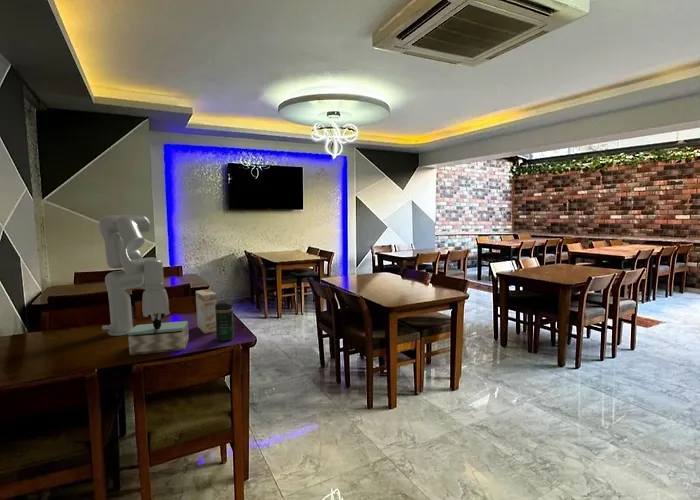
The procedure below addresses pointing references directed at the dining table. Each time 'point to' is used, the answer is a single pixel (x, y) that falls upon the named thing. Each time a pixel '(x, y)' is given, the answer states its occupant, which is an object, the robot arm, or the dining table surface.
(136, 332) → the lid
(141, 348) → the chest
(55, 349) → the dining table surface
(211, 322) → the coffeecake box
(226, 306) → the coffee jar
